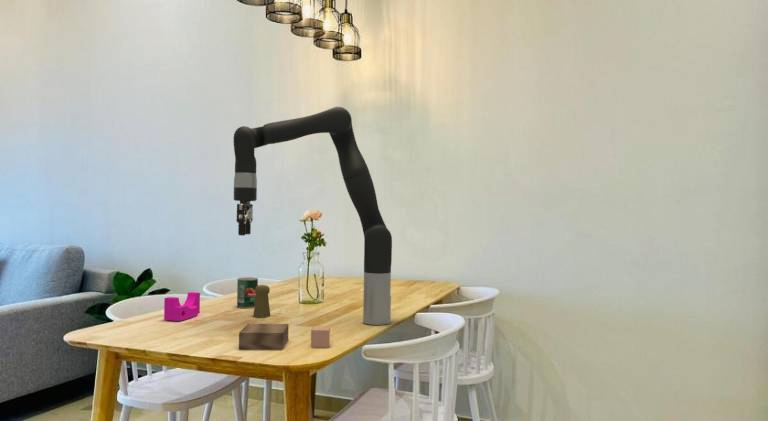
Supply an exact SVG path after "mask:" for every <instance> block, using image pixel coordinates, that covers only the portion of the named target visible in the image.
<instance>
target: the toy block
mask: <svg viewBox="0 0 768 421" xmlns="http://www.w3.org/2000/svg"><path fill="white" fill-rule="evenodd" d="M163 304H164V306H163V312H164V313H163V314H164V315H163V317H164V318H163V320H164V321H173V322H174V321H175V322H176V321H177V322H181V321H186V320H188V319H191V318H194V317H198V316H199V314H200V312H201V311H200V308H201V307H200V305H201V292H197V291H190V292H188V293H187V296H186V299H185V301H184V303H183V304H182V305H181V302H180V298H179V296H178V297H175V296H167V297H164V303H163Z"/></svg>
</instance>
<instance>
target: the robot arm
mask: <svg viewBox="0 0 768 421" xmlns="http://www.w3.org/2000/svg"><path fill="white" fill-rule="evenodd" d="M314 134H315V135H317V134H329V136H330V138H331V140H332V142H333V145H334V147H335V149H336V153H337V157H338V162H339V166H340V167H339V168H340V171H341V176H342V179H343V182H344V185H345V187H346V191H347V194H348V196H349V198H350V201H351V202H352V204H353V207H354V208H355V210H356V212H357V215H358V216H359V221H360V223H361V228H362V232H363V237H364V238H363V239H364V244H363V245H364V246H363V247H364V248H363V249H364V250H363V252H364V253H363V254H364V255H363V301H362V302H363V304H362V306H363V307H362V310H363V311H362V313H363V314H362V323H364V324H366V325H370V326H373V325H375V326H376V325H377V326H382V325H383V326H384V325H391V314H392V312H391V310H392V309H391V308H392V307H391V306H392V304H391V302H392V296H391V290H392V288H391V286H392V285H391V283H392V282H391V281H392V280H391V277H392V275H391V274H392V258H393V257H392V254H393V253H392V252H393V251H392V250H393V237H392V233H391V231H390V230H389V229H388V228H387V226H386V223H385V221H384V218H383V217H382V215H381V212H380V211H381V210H380V209H379V204H378V199H377V194H376V189H375V185H374V182H373V179H372V175H371V173H370V170H369V166H368V164H367V163H366V161H365V158H364V157H363V155H362V152H361V151H360V149H359V147H358V144H357V141H356V137H355V132H354V127H353V122H352V115H351V114H350V112H349V111H348V109H346V108H345V107H342V106H334V107H332V108H328V109H327V110H323V111H321V112H318V113H313V114H312V115H311V114H310V115H307V116H302V117H297V118H293V119H285V120H279V121H275V122H269V123H265V124H263V126H257V127H251V128H250V127H249V126H245V125H243V126H239V127H238V128H237V129H236V130H235V131H234V135H233V152H234V157H235V158H234V160H235V161H234V178H233V201H235V202H239V203H237V204H236V223H237V224H238V230H237V231H238V233H237V234H238V236H246V235H251V230H252V229H251V228H252V227H251V226H252V225H251V224H252V223H253V220H254V219H253V212H254V211H253V210H254V209H253V207H254V206H253V203H252V204H251V202H256V201H257V199H258V198H257V196H258V195H257V194H258V192H257V191H258V185H257V184H258V178H257V160H256V159H257V158H256V156H255V149H257V148H261V147H264V146H268V145H273V144H274V145H275V144H278V143H279V144H280V143H286V142H290V141H293V140H297V139H300V138H303V137H305V136H310V135H314Z"/></svg>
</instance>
